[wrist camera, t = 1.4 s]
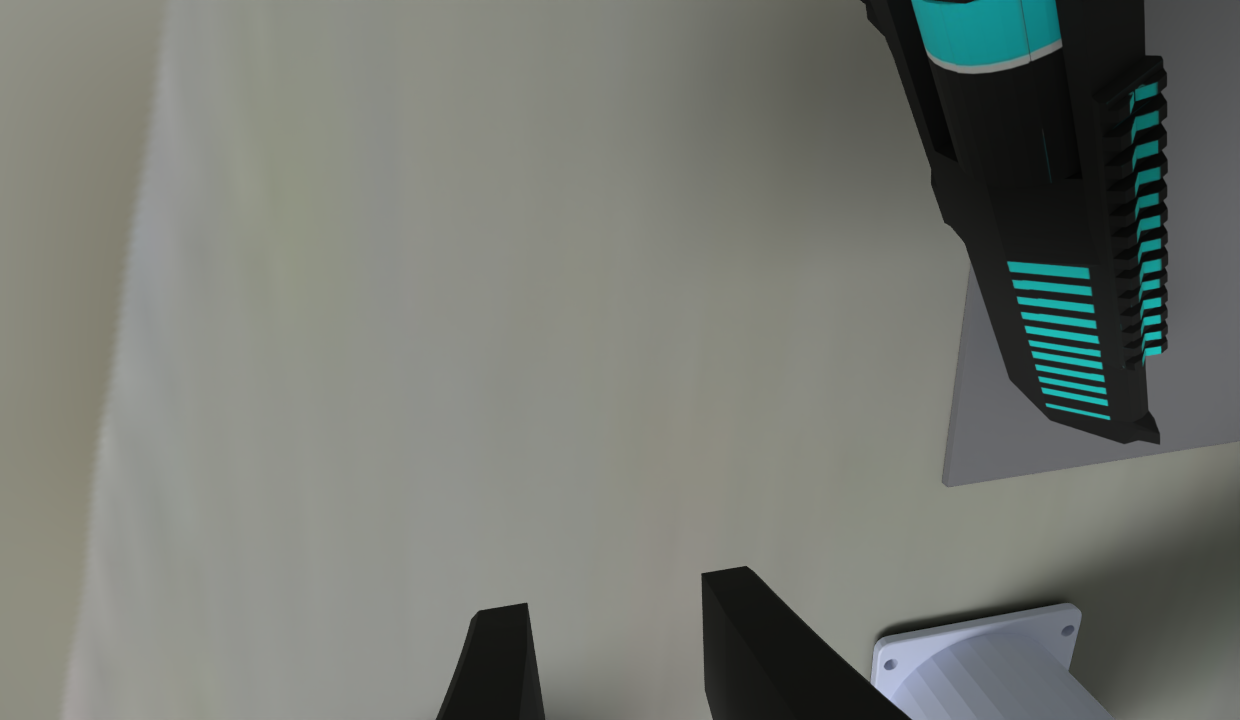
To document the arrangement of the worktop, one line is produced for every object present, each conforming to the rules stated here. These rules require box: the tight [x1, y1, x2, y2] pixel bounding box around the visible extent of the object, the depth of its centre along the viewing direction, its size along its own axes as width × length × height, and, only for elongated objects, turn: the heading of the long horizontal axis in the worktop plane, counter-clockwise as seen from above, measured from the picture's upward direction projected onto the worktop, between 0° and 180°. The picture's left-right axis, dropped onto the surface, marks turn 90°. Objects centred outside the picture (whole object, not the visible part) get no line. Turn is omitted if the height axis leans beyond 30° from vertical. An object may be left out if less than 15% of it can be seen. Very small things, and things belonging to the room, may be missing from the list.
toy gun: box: [861, 0, 1168, 445], centre depth 15 cm, size 3×20×10 cm, turn 39°
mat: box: [942, 0, 1240, 487], centre depth 18 cm, size 24×14×1 cm, turn 4°
